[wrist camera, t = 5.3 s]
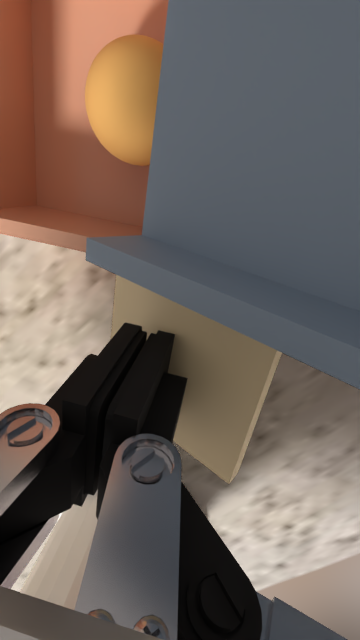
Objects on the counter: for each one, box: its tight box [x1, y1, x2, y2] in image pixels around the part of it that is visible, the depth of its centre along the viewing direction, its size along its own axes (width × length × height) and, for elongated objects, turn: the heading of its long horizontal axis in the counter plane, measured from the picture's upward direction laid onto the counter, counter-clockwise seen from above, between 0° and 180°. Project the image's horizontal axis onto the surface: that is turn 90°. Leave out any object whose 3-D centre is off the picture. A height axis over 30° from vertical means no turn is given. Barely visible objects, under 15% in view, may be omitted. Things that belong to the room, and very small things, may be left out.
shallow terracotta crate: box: [0, 0, 169, 252], centre depth 12 cm, size 11×11×5 cm
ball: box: [85, 34, 164, 166], centre depth 12 cm, size 4×4×4 cm
